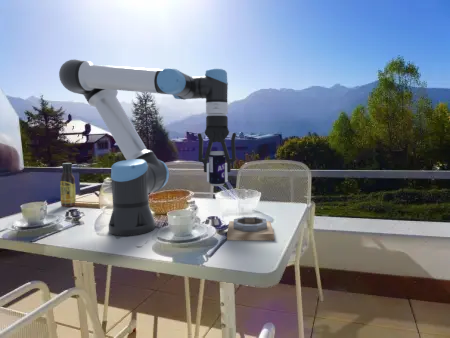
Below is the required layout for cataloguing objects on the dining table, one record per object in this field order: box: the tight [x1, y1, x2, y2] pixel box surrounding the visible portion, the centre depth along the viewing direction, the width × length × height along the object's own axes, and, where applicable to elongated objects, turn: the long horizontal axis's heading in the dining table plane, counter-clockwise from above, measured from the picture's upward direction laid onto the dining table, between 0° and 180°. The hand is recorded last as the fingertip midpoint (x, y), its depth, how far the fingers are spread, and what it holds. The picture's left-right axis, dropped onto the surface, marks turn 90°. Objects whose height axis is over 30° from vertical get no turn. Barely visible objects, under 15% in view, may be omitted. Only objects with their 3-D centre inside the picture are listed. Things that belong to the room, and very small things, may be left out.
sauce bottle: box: [59, 162, 77, 208], centre depth 149 cm, size 7×6×20 cm
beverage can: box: [208, 150, 226, 187], centre depth 115 cm, size 6×6×12 cm
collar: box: [233, 216, 267, 232], centre depth 104 cm, size 10×10×2 cm
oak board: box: [226, 220, 275, 241], centre depth 104 cm, size 14×14×2 cm
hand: (217, 181), depth 115 cm, fingers closed on beverage can, 6 cm apart
